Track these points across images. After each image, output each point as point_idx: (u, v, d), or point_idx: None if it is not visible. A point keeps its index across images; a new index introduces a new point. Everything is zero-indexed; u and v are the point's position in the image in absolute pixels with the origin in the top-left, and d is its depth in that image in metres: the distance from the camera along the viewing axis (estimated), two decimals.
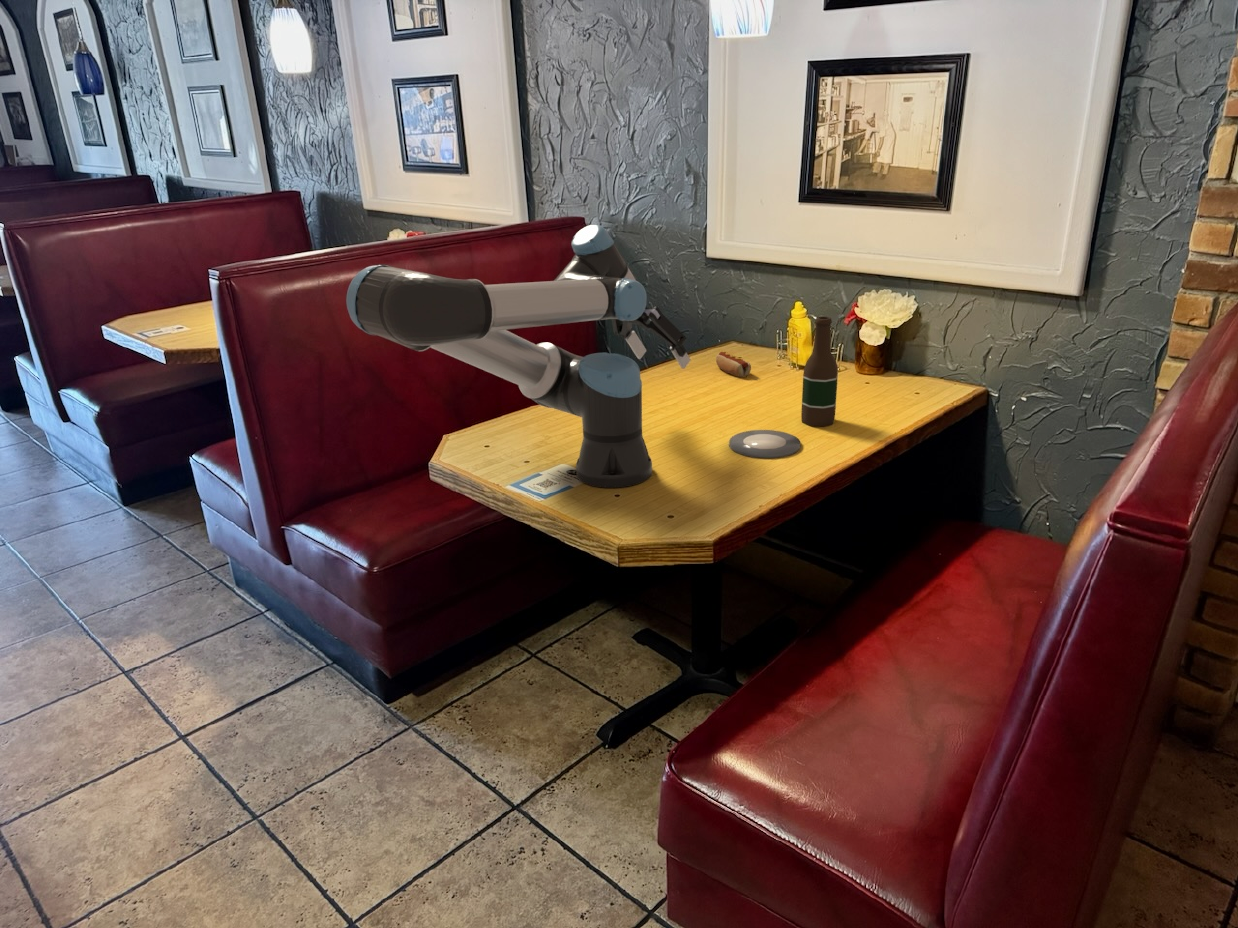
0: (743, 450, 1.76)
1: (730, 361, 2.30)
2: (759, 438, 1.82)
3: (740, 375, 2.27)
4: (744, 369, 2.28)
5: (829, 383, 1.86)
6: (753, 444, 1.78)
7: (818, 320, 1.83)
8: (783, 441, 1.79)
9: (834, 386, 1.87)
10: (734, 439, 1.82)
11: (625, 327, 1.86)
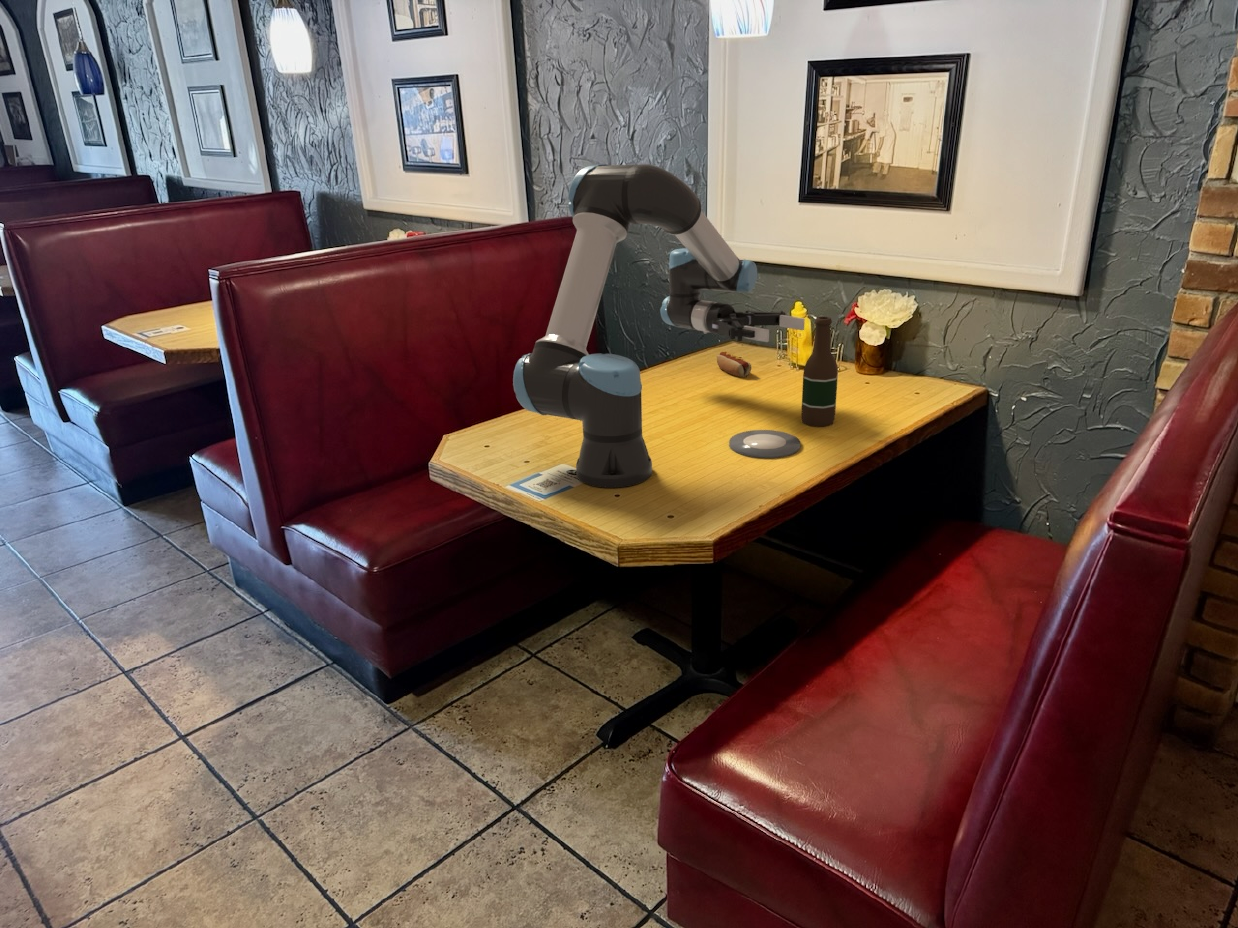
0: (743, 450, 1.76)
1: (730, 361, 2.30)
2: (759, 438, 1.82)
3: (741, 375, 2.27)
4: (744, 369, 2.28)
5: (829, 383, 1.86)
6: (753, 444, 1.78)
7: (818, 320, 1.83)
8: (783, 441, 1.79)
9: (834, 386, 1.87)
10: (734, 439, 1.82)
11: (736, 322, 1.96)
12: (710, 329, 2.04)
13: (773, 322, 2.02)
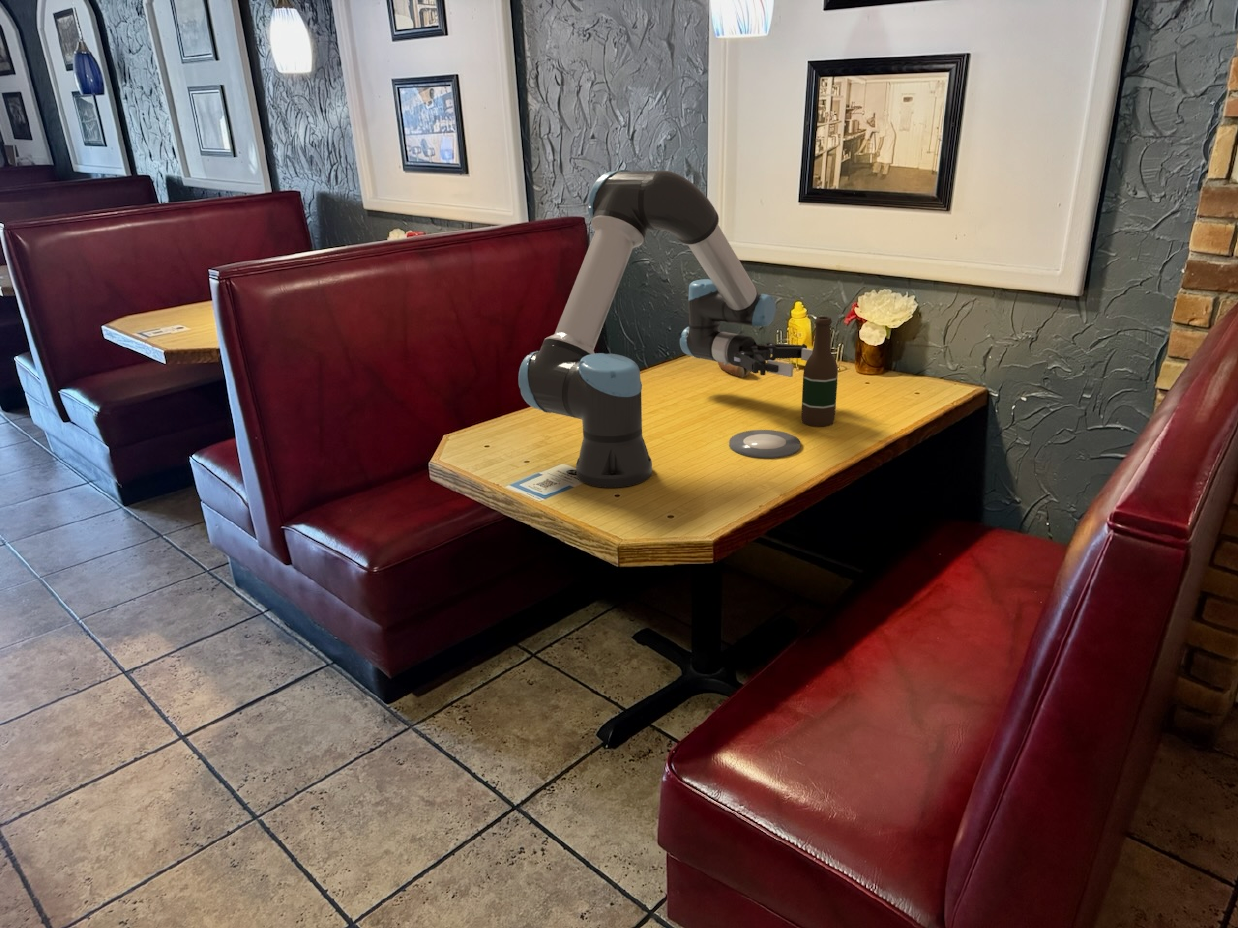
0: (743, 450, 1.76)
1: None
2: (759, 438, 1.82)
3: (741, 375, 2.27)
4: (745, 369, 2.28)
5: (829, 383, 1.86)
6: (753, 444, 1.78)
7: (818, 320, 1.83)
8: (783, 441, 1.79)
9: (834, 386, 1.87)
10: (734, 439, 1.82)
11: (759, 355, 1.95)
12: (731, 361, 2.03)
13: (795, 355, 2.00)
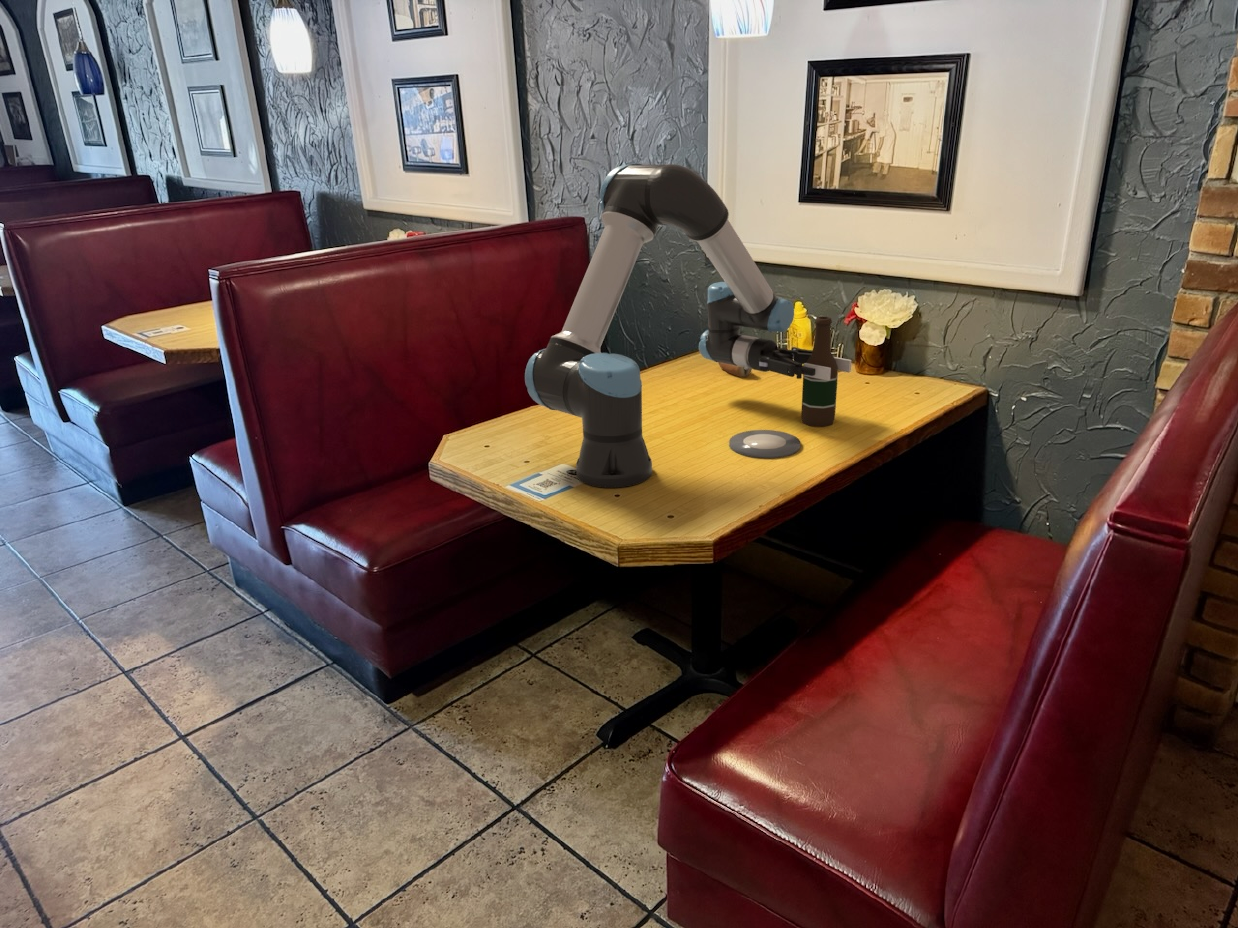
0: (743, 450, 1.76)
1: None
2: (759, 438, 1.82)
3: (741, 375, 2.27)
4: None
5: (829, 383, 1.86)
6: (753, 444, 1.78)
7: (818, 320, 1.83)
8: (783, 441, 1.79)
9: (834, 386, 1.87)
10: (734, 439, 1.82)
11: (788, 359, 1.90)
12: (752, 366, 1.98)
13: None
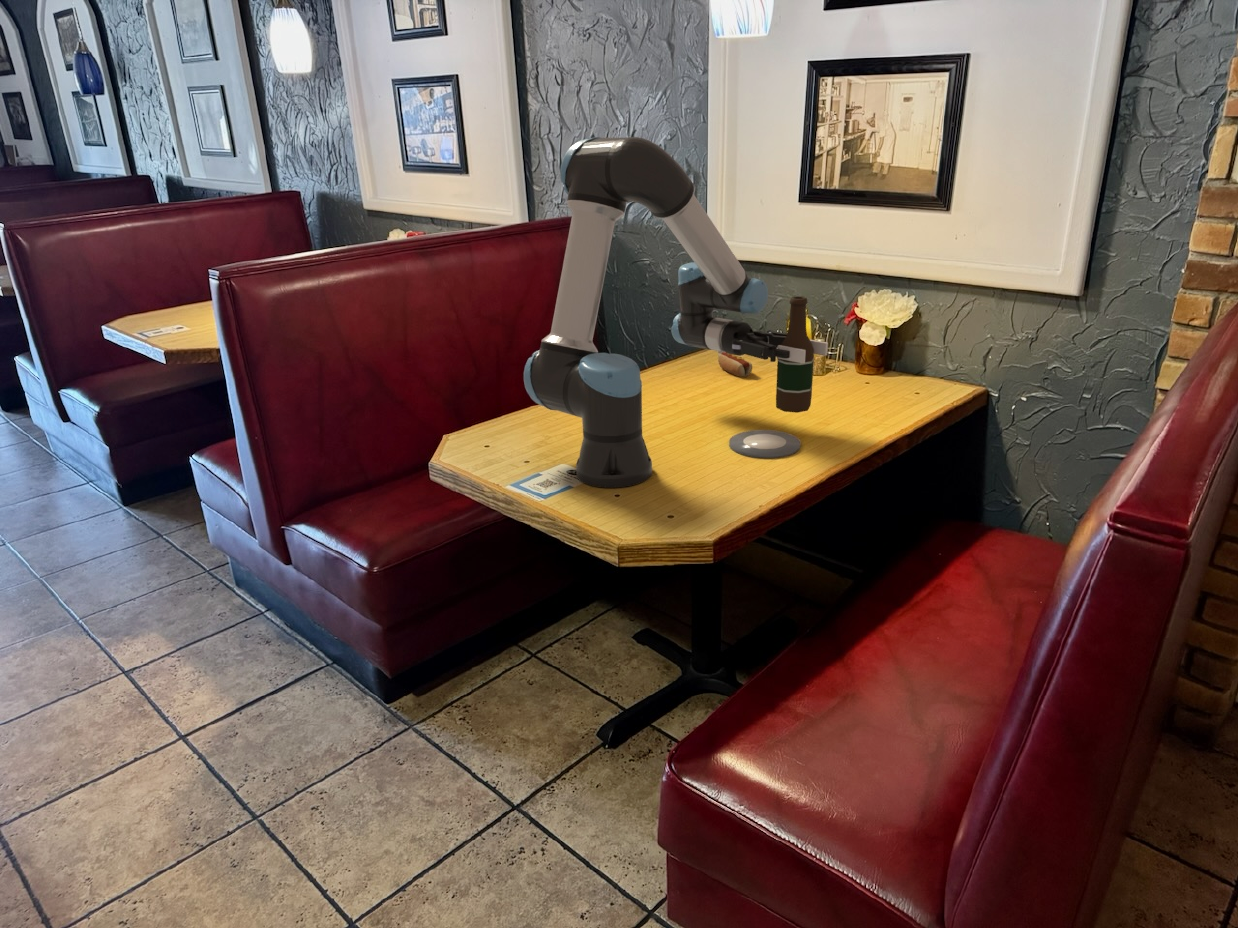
0: (743, 450, 1.76)
1: (732, 361, 2.30)
2: (759, 438, 1.82)
3: (742, 375, 2.27)
4: (745, 369, 2.28)
5: (804, 367, 1.78)
6: (753, 444, 1.78)
7: (793, 300, 1.75)
8: (783, 441, 1.79)
9: (810, 370, 1.78)
10: (734, 439, 1.82)
11: (762, 341, 1.82)
12: (725, 349, 1.90)
13: None
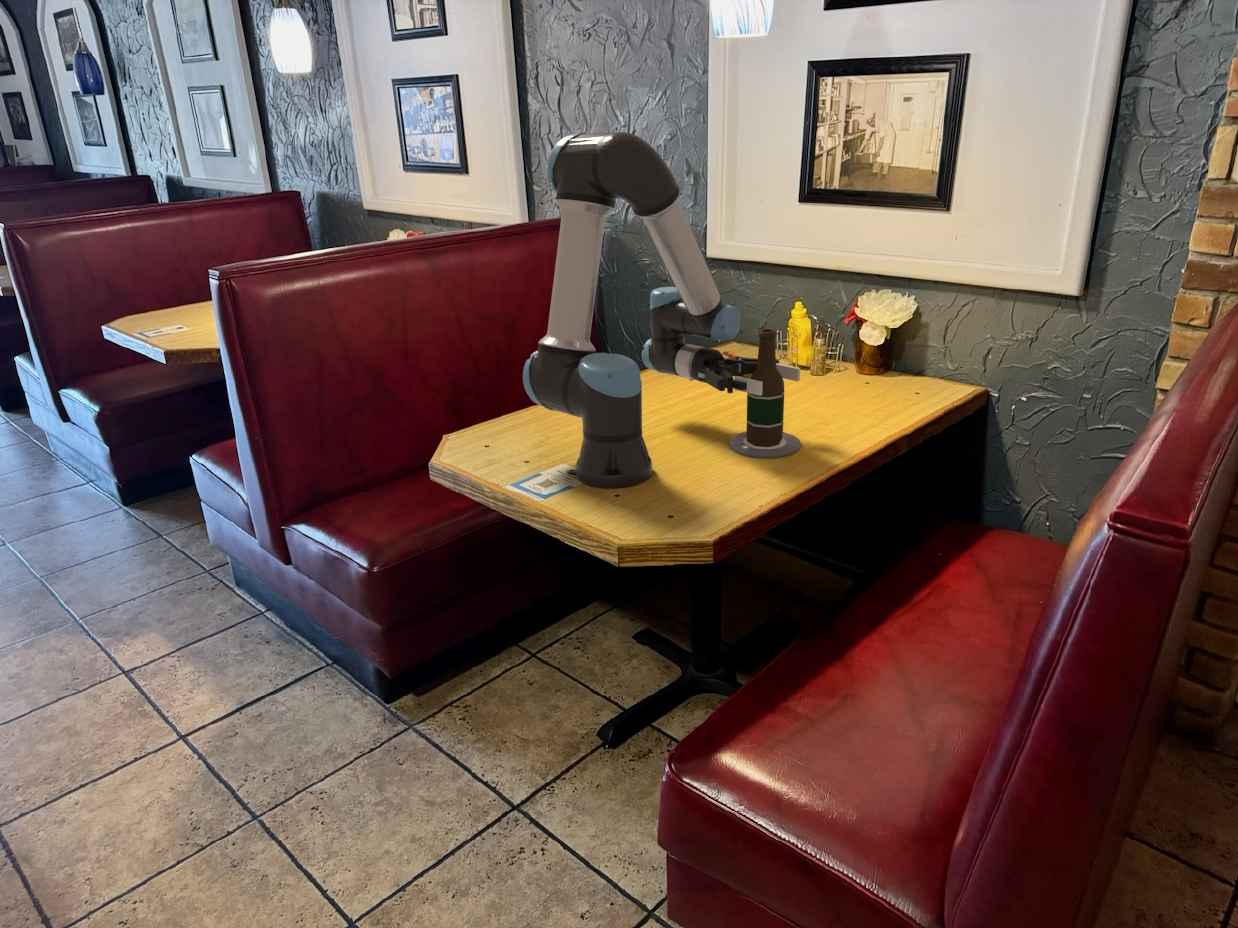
0: (743, 450, 1.76)
1: None
2: None
3: None
4: None
5: (774, 401, 1.73)
6: None
7: (761, 333, 1.70)
8: (783, 441, 1.79)
9: (780, 404, 1.74)
10: (734, 439, 1.82)
11: (725, 371, 1.76)
12: (696, 377, 1.85)
13: None
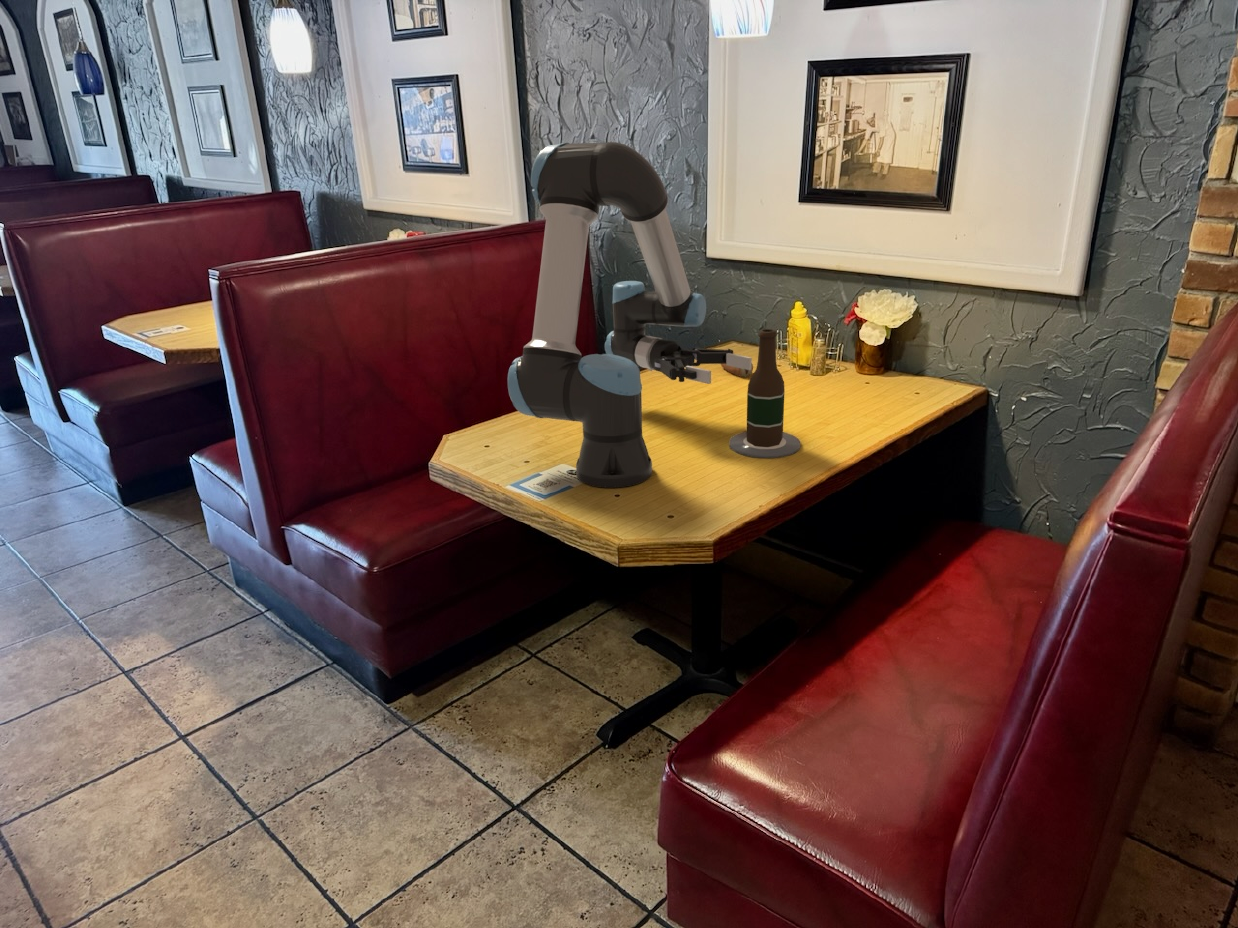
0: (743, 450, 1.76)
1: None
2: None
3: (742, 375, 2.27)
4: None
5: (774, 401, 1.73)
6: None
7: (762, 333, 1.70)
8: (783, 441, 1.79)
9: (780, 404, 1.74)
10: (734, 439, 1.82)
11: (679, 361, 1.85)
12: (654, 367, 1.93)
13: (720, 360, 1.91)
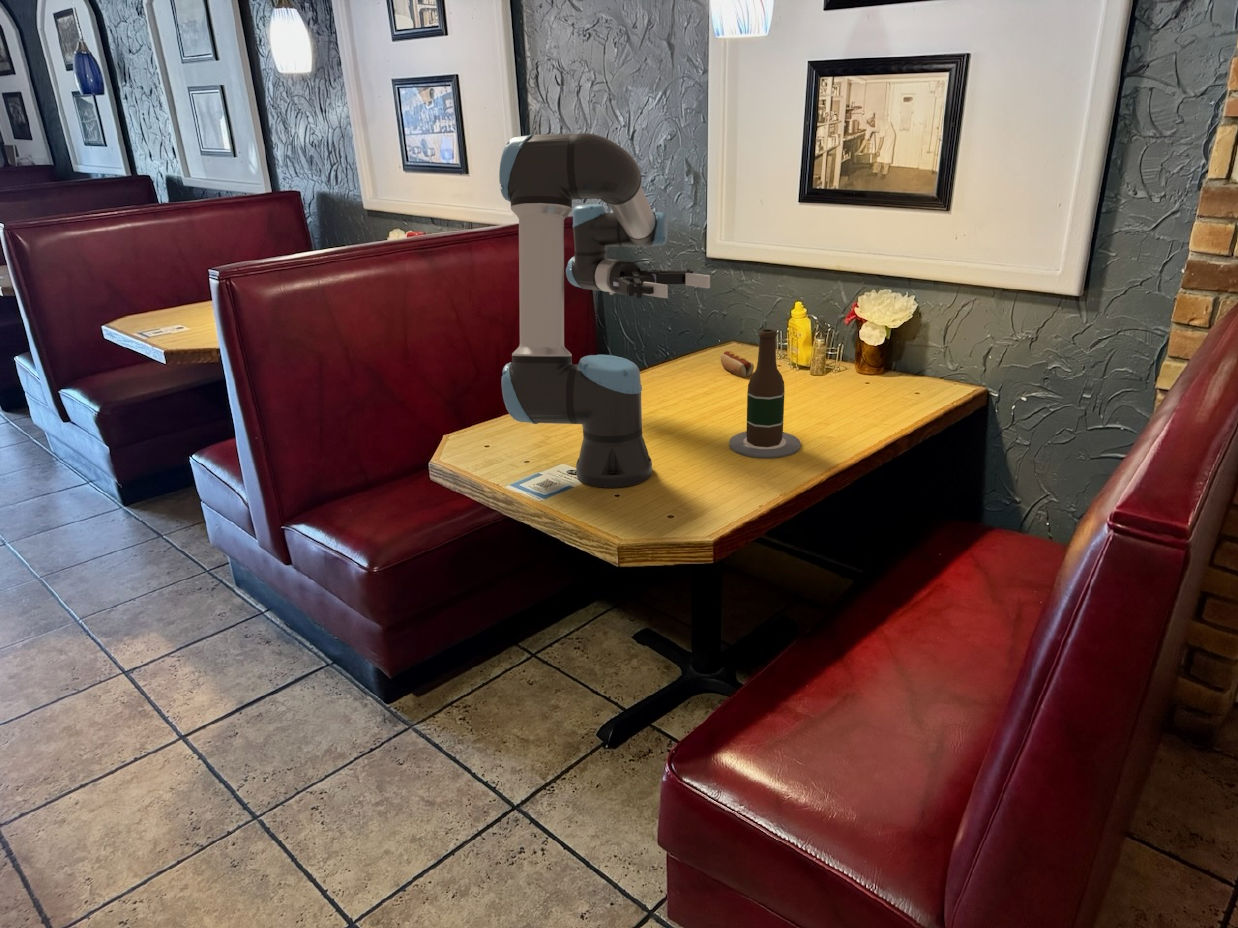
0: (743, 450, 1.76)
1: (733, 361, 2.30)
2: None
3: (743, 374, 2.27)
4: (747, 369, 2.28)
5: (774, 401, 1.73)
6: None
7: (762, 333, 1.70)
8: (783, 441, 1.79)
9: (780, 404, 1.74)
10: (734, 439, 1.82)
11: (637, 279, 1.84)
12: (614, 289, 1.93)
13: (679, 281, 1.90)
